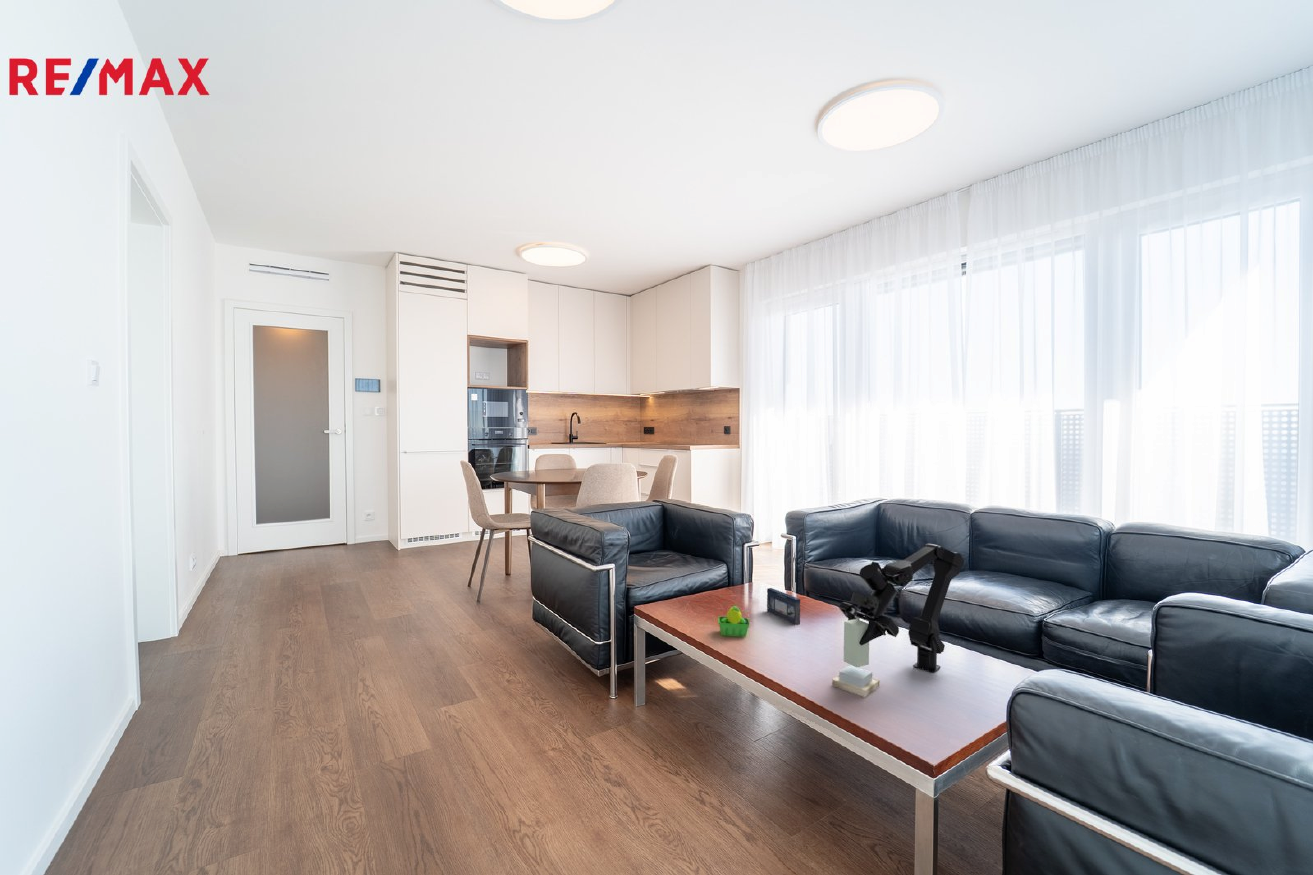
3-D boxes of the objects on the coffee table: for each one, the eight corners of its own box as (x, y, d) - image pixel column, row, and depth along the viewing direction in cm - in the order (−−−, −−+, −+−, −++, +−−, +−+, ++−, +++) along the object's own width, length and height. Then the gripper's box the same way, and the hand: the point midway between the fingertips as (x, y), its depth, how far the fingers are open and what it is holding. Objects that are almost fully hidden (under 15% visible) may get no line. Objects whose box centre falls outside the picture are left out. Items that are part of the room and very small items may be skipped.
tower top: (849, 673, 170) (849, 665, 170) (872, 680, 165) (872, 672, 165) (839, 680, 165) (839, 671, 165) (862, 687, 160) (862, 679, 160)
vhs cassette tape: (766, 611, 235) (766, 588, 235) (772, 610, 236) (772, 587, 236) (794, 625, 218) (794, 600, 218) (800, 624, 220) (800, 599, 220)
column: (855, 658, 169) (856, 619, 169) (868, 664, 164) (869, 624, 164) (843, 661, 166) (844, 621, 166) (856, 667, 162) (857, 626, 162)
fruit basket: (748, 631, 211) (748, 601, 211) (749, 639, 202) (750, 608, 202) (717, 629, 212) (718, 600, 212) (718, 638, 203) (718, 607, 203)
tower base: (847, 677, 172) (847, 669, 172) (879, 688, 165) (879, 680, 165) (832, 687, 165) (832, 679, 165) (864, 699, 158) (865, 690, 158)
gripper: (843, 576, 175) (816, 615, 170) (892, 591, 159) (864, 635, 154) (860, 597, 179) (835, 637, 174) (911, 614, 162) (884, 658, 157)
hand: (853, 641), depth 165 cm, fingers closed on column, 5 cm apart
